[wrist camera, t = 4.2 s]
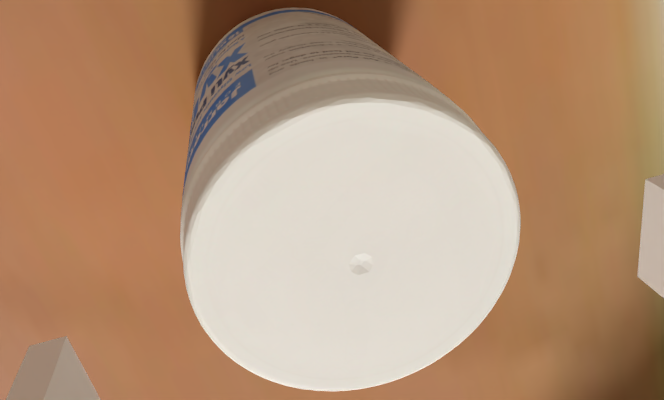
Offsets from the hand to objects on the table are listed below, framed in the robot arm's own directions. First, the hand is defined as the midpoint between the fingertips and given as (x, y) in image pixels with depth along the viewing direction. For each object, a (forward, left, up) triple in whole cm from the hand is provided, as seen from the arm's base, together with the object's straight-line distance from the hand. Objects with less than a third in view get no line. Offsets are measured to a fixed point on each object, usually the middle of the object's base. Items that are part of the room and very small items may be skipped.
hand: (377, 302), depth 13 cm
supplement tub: (0, 0, -17) cm, 17 cm away
